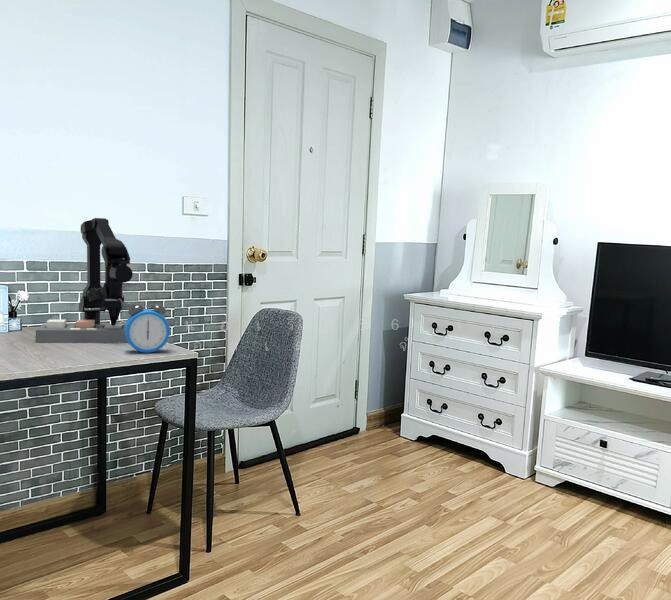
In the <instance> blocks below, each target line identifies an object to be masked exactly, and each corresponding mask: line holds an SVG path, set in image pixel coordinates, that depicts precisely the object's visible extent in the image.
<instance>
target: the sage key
mask: <svg viewBox="0 0 671 600" xmlns="http://www.w3.org/2000/svg"><path fill="white" fill-rule="evenodd" d="M104 325H105V326H104V328H122V325H123V324H122V323H116V324H115V325H111V323H105V324H104Z"/></svg>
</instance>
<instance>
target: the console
mask: <svg viewBox="0 0 671 600" xmlns="http://www.w3.org/2000/svg"><path fill="white" fill-rule="evenodd" d="M104 326H105V324H100V325H95V328H76V323H75V324H73V323H72V324H71V323H70V324H67V323H66V328H46V323H42V324H41V325H40V326H39V327H38V328H36V330H35V343H96V344H97V343H98V344H99V343H103V344H105V343H111V344H112V343H113V344H114V343H123V344H124V343H128V341H127V338H126V336H125V324H122V328H104Z"/></svg>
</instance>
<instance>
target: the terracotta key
mask: <svg viewBox="0 0 671 600" xmlns="http://www.w3.org/2000/svg"><path fill="white" fill-rule="evenodd" d="M75 324H76V328H95V320H84V319H77V320H76V321H75Z"/></svg>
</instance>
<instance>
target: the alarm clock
mask: <svg viewBox="0 0 671 600" xmlns="http://www.w3.org/2000/svg"><path fill="white" fill-rule="evenodd" d="M144 307H145V306H143V305H142V304H141V303H135V304H132V305H131V306H130V307H129V308H128V312H127V313H128V315H129V316H128V317H127V319H126V322H125V324H124V325H125V336H126V338H127V341H128V342H127V343H128V344H129V345H130V347H132V348H133V349H134V350H136V351H135V354H137V353H138V352H140V353H145V354H146V353H148V354H150V353H155V352H158V353H160V351H159V350H161V349H162V348H163V347H164V346H165V345H166V344H167V343H168V340H169V338H170V334H171V330H170V329H171V327H170V324H169V322H168V320H167V318H166V317H164V316H166V314H167V309H166V307H165V306H163V304H159V303H155V304H153V305H151V307H150V305H146V308H144ZM149 307H150V308H149Z"/></svg>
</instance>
